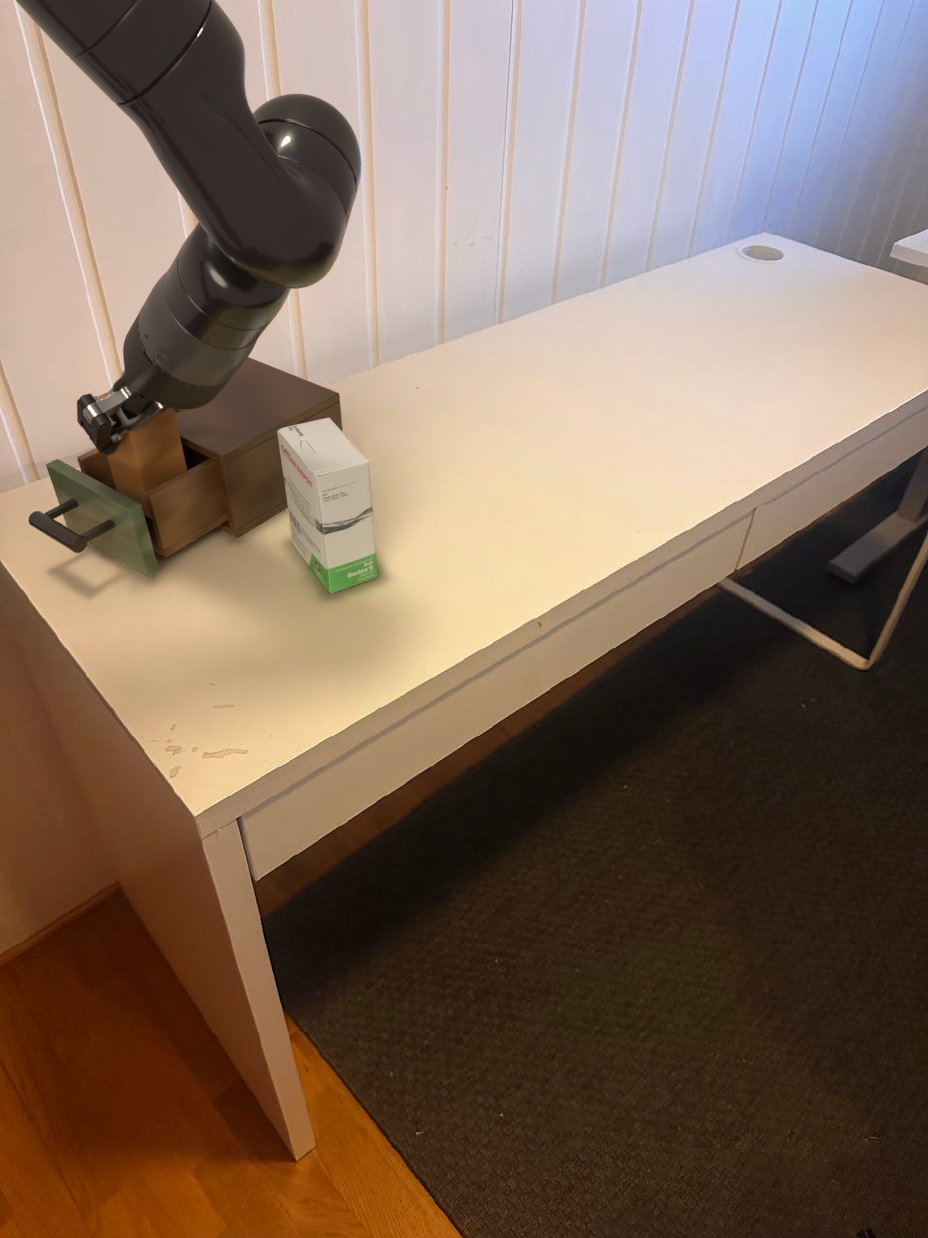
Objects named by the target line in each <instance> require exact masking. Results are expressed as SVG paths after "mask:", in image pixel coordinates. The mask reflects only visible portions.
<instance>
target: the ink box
mask: <svg viewBox="0 0 928 1238" xmlns="http://www.w3.org/2000/svg"><path fill="white" fill-rule="evenodd" d="M277 435H278V441H279V448H280V455H281V463H282V470H283V476H284V483H285V490H286V498H287V505H288V507H287V512H288V518H289V526H290V527H289V528H290V535H291V542H292V545H293V547H294V548H295V550H297V552H298V553H299V555H300V556H301V558H302V559H303V560H304V562H305V563H306V564H307V565H308V567H309V568H310V569H311V571H312V572H313V573H314V575H315V577H316V578H317V579H318V580H319V581H320V583H321V584H322V586H323V587H324V588H325V589H326V592H328V593H329V594H335V593H337V592H339V591H343V590H346V589H349V588H352V587H355V586H357V585H360V584H362V583H366V582H367V581H371V580H373V579H375V578H378V576H379V573H378V562H377V551H376V550H377V549H376V536H375V535H376V534H375V525H374V511H373V509H374V508H373V499H372V497H373V495H372V484H371V483H372V482H371V471H370V470H371V469H370V461H369V460H368V459H367V458H366V457H365V456H364V454H363V453H362V452H361V451H360V450H359V449H358V448H357V447H356V446H355V445H354V443H353V442H352V441H351V440H350V439H349V438H348V436H347V435H346V434H345V433H344V431H343V432H342V431H341V430H340V429H339V428H338V427H337V426H336V424H335V423H334V422H333V421H332V420H331V419H330V418H325V419H320V420H316V421H311V422H307V423H302V424H297V425H293V426H288V427H284V428H281V429H280V430H278V431H277Z"/></svg>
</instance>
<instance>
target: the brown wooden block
mask: <svg viewBox="0 0 928 1238" xmlns="http://www.w3.org/2000/svg"><path fill="white" fill-rule="evenodd" d="M108 392H109V391H107V392H104V393H102V394H100V395H98V396H97V397H98V398H99V400H101V399H102V398H104V397H105V396H106V394H107V393H108ZM113 415H114V417H115V418H116V419H117V421H118V422H119V424H120V425H121V420H120V419H119V418H118V416H117V415H116V413H115V412H114V414H113ZM139 415H140V414H138V416H139ZM106 456H107V459H108V463H109V466H110V470H111V473H112V477H113V480H114V484H115V487H116V490H117V492H119V493H121V494H123V495H124V496H126V497H128V498H130V499H132V500H134V501H135V502H137V503H139V504H141V505H142V508H143V512H144V515H145V516H147V517H149V518H150V519H151V517H150V513H149V509H148V505H147V502H146V498H145V493H146V492H148V491H150V490H152V489H154V488H156V487H157V486H159V485H161V484H163V483H165V482H167V481H169V480H171V479H172V478H174V477H176V476H178V475H180V474H182V473H184V472H186V471H188V470H187V466H186V461H185V457H184V452H183V448H182V443H181V439H180V434H179V430H178V425H177V421H176V416H175V412H174V409H173V408H171V407H169V408H168V409H167V410H166V411H165V412H163V413H160V414H157V415H156V416H155V417H154V418H153V419H151V420H150V421H149V422H148V423H147V424H146V425H145V426H144V427H143V428H141V429H138V430H135V431H132V432H129V433H128V434H127V435H126V436H125V437H124V438H123V440H122V441H121V443H120V444H119V446H118V447H117V449H116V450H115V452H113V453H111V454H109V455H106Z"/></svg>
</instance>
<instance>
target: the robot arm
mask: <svg viewBox="0 0 928 1238" xmlns="http://www.w3.org/2000/svg"><path fill="white" fill-rule="evenodd" d="M15 2H16V3H17V4H18V5H19V6H20V7H21V8H22V9H23V10H24V12H25V13H26V14H27V15H28V16H29V18H30V19H31V20H32V21H33V22H34V23H35V24H36V25H37V26H38V27H39V28H40V29H41V30H42V31H43V33H44V34H46V36H47V37H48V38H49V39H50V40H51V41H52V43H54V44H55V45H56V46H57V47H58V48H59V49H60V50H61V51H62V52H63V54H65V56H67V57H68V58H69V60H70V61H72V63H74V65H76V67H77V68H79V70H80V71H82V72H83V74H84V75H86V77H87V78H89V80H91V81H92V82H93V84H94V85H96V86H97V87H98V89H99V90H100V91H102V93H103V94H104V95H105V96H106V97H107V98H109V100H110V101H111V102H112V103H114V104H115V106H117V107H118V109H120V110H121V111H122V112H123V113H124V114H125V115H126V117H128V118H129V119H130V120H131V121H132V122H133V123H134V124H135V125H136V126H137V127H138V129H139V130H140V132H141V133H142V135H143V136H144V138H145V140H146V141H147V143H148V145H149V146H150V148H151V149H152V151H153V153H154V155H155V157H156V159H157V160H158V161H159V164H160V165H161V167H162V168H163V170H164V171H165V173H166V175H167V176H168V177H169V179H170V180H171V181H172V183H173V185H174V186H175V188H176V189H177V191H178V192H179V194H180V195H181V197H182V198H183V200H184V202H185V203H186V205H187V207H188V208H189V209H190V211H191V212H192V214H193V215H194V217H195V218H196V220H197V224H196V225H195V226H194V228H193V229H192V230H191V232H190V233H189V234H188V235H187V237H186V238H185V240H184V242H183V243H182V245H181V247H180V248H179V250H178V252H177V254H176V255H175V257H174V259H173V260H172V263H171V264H170V266H169V268H168V269H167V270H166V272H164V273H163V274H162V276H161V277H160V278H159V279H157V282H156V283H155V284H154V286H153V287H152V289H151V291H150V293H149V294H148V295H147V298H146V300H145V301H144V303H143V305H142V306H141V309H140V310H139V312H138V314H137V316H136V317H135V319H134V321H133V323H132V325H131V326H130V327H129V330H128V331H127V333H126V335H125V338H124V341H123V347H122V357H123V367H124V370H123V371H121V376H120V377H119V378H118V379H117V380H116V381H115V382H114V383H113V385H112V387H111V388H110V389H109V390H108V391H107V392H108V393H107V392H106V393H107V394H106V396H105V397H104V398H102V399H101V400H99V398H98V396H97V395H93V394H92V393H86V394H83V395H81V396H80V397H79V398H78V399H77V400H76V421H77V423H78V425H79V426H80V427H81V428H82V429H83V431H84V432H85V433H86V434H87V436H88V437H89V440H90V441H91V442H92V444H93V445H94V447H95V448H97V449H98V451H99V452H100V453H101V452H103V453H104V454H105V455H109V454H111V453H113V452H115V450H116V449H117V447H118V446H119V444H120V443H121V441H122V440H123V438H124V437H125V436H126V435H127V434H128V433H129V432H132V431H135V430H138V429H141V428H143V427H144V426H145V425H146V424H147V423H148V422H149V421H150V420H151V419H153V418H154V417H155V416H156V415H157V414H160V413H163V412H165V411H166V410H167V409H168V408H169V407H171V408H173V409H174V412H175V413H179V412H181V411H183V410H184V409H185V410H186V409H195V408H199V407H202V406H204V405H206V404H208V403H209V402H211V401H212V400H213V399H214V398H215V397H216V396H217V395H218V393H219V392H220V391H221V390H222V389H223V387H224V386H225V385H226V384H227V382H228V381H229V380H230V379H231V377H232V376H233V375H234V374H235V372H236V371H237V370H238V369H239V368H240V366H241V365H242V364H243V363H244V361H245V360H246V359H247V357H250V354H251V353H252V352H253V349H254V348H255V346H256V344H257V342H258V339H260V336H262V335H263V333H264V332H265V331H266V329H267V328H268V327H269V326H270V324H271V323H272V322H273V321H274V319H275V318H276V317H277V315H278V314H279V313H280V311H281V310H282V308H283V306H284V305H285V304H286V301H287V299H288V297H289V295H290V292H291V290H295V289H296V290H297V289H298V290H299V289H304V288H308V287H310V286H313V285H315V284H317V283H319V282H320V281H321V280H323V279H324V278H325V277H326V276H327V275H328V274H329V273H330V271H331V270H332V268H333V267H334V265H335V263H336V261H337V259H338V257H339V254H340V251H341V248H342V246H343V242H344V238H345V235H346V232H347V228H348V225H349V222H350V217H351V214H352V211H353V207H354V203H355V201H356V199H357V194H358V190H359V188H360V184H361V178H362V165H363V164H362V163H363V162H362V154H361V149H360V144H359V141H358V138H357V135H356V133H355V131H354V129H353V127H352V125H351V124H350V122H349V121H348V119H347V118H346V116H345V115H344V114H343V113H341V111H339V110H338V109H337V108H336V107H335V106H334V105H333V104H331V103H329V101H326V100H324V99H322V98H320V97H318V96H315V95H311V94H307V93H287V94H283V95H279V96H276V97H274V98H271V99H269V100H267V101H265V102H264V103H263V104H261V105H260V106H258V108H256V109H255V110H254V111H252V110H251V106H250V105H249V101H248V97H247V90H246V62H247V61H246V60H247V59H246V50H245V45H244V42H243V39H242V37H241V35H240V33H239V31H238V29H237V28H236V26H235V25H234V23H233V22H232V20H231V19H230V17H229V16H228V15H227V14H226V12H225V11H224V9H223V8H222V7H221V5H220V4H219V3H218V2H217V0H15ZM114 412H115V413H116V415H117V416H118V418H119V419H120V420H121V425H120V424H119V422H118V421H117V419H116V418H115V417H114V415H113V414H114ZM138 414H140V415H139V416H138Z"/></svg>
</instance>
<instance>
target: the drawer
mask: <svg viewBox="0 0 928 1238" xmlns="http://www.w3.org/2000/svg"><path fill="white" fill-rule="evenodd" d="M182 448H183V452H184V457H185V461H186V466H187V470H188V471H186V472H184V473H182V474H180V475H178V476H176V477H174V478H172V479H171V480H169V481H167V482H165V483H163V484H161V485H159V486H157V487H156V488H154V489H152V490H150V491H148V492H146V493H145V498H146V502H147V505H148V509H149V513H150V517H151V519H150V518H149V517H147V516H145V515H144V512H143V508H142V505H141V504H139V503H137V502H135V501H134V500H132V499H130V498H128V497H126V496H124V495H123V494H121V493H119V492H117V490H116V487H115V484H114V480H113V477H112V473H111V470H110V466H109V463H108V459H107V456H106V455H105V454H104V453H103V452H101V453H100V452H99V451H98V449H97V448H96V447H95V448H93V449H91V450H88V451H87V452H85V453H83V454H80V455H78V456H76V459H77V462H78V466H79V469H77V468H75V467H73V466H72V465H69V463H66V462H64V461H62V460H60V459H58V458H57V459H56V458H55V459H54V460H52V461H50V462H47V463H46V464H45V466H46V469H47V473H48V476H49V479H50V481H51V484H52V487H53V490H54V493H55V496H56V499H57V501H58V505H57V506H55V507H53V508H50V509H49V510H47V511H45V512H42V511H40V510H35V511H33V512H31V514H29V516H28V520H27V521H28V524H29V525H30V526H31V527H32V528H34V529H36V530H38V531H39V532H41V533H42V534H44V535H45V536H47V537H49V538H50V539H52V540H54V541H55V542H57V543H58V544H60V545H62V546H63V547H65V548H66V549H68V550H69V551H72V552H73V553H75V554H80V553H82V552H84V551H85V550H86V548H87V547H88V543H90V544H92V545H94V546H95V547H96V548H98V549H100V550H101V551H103V552H105V553H107V554H108V555H110V556H112V557H113V558H115V559H117V560H118V561H120V562H122V563H123V564H126V566H128V567H130V568H132V569H133V570H134V571H137V572H138V573H140V574H142V575H143V576H144V577H146V578H150V577H152V576H154V575H155V574H157V573H159V572H160V568H159V565H158V561H157V557H156V553H158V554H159V555H161V556H163V557H165V558H168V557H170V556H171V555H173V554H174V553H176V552H178V551H179V550H181V549H183V548H184V547H186V546H187V545H189V544H191V543H193V542H194V541H196V540H198V539H199V538H201V537H203V536H204V535H206V534H208V533H209V532H211V531H213V530H214V529H216V528H217V527H218V526H220V525H221V524H223V523H225V522H226V521H228V515H227V510H226V505H225V499H224V494H223V489H222V484H221V479H220V474H219V469H218V464H217V462H218V461H216V460H214V459H212V458H209V457H207V456H205V455H203V454H201V453H199V452H197V451H195V450H193V449H191V448H189V447H187V446H185V445H183V444H182ZM61 516H63V519H64V522H65V525H64V524H62V523H60V522H59V521H57V520H56V518H59V517H61ZM155 552H156V553H155Z"/></svg>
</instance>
